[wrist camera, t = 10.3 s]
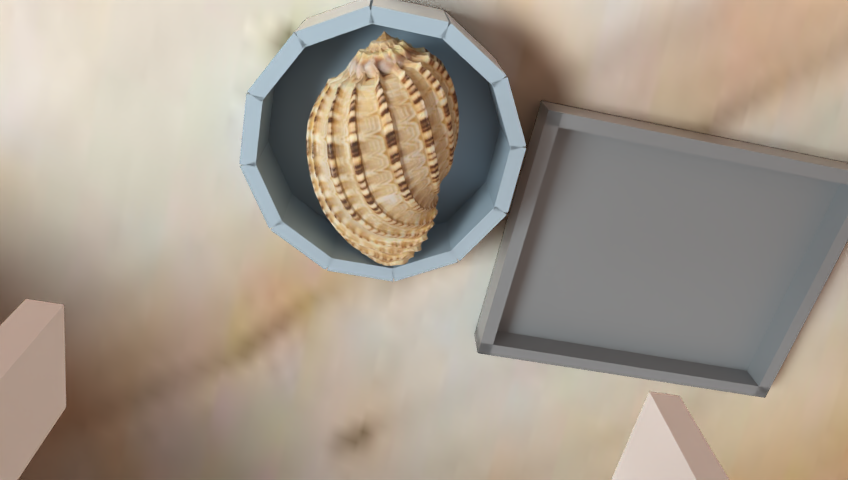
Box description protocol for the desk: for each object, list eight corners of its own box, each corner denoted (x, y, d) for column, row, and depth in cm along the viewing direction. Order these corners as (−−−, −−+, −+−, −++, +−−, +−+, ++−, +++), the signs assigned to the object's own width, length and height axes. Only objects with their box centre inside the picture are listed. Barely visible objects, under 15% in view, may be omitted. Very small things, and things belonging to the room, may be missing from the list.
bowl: (247, 220, 36) (230, 254, 32) (274, -27, 31) (257, -20, 27) (475, 259, 37) (483, 296, 34) (537, 30, 32) (555, 45, 28)
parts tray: (474, 334, 39) (477, 352, 38) (541, 100, 34) (548, 109, 32) (750, 378, 41) (764, 397, 40) (859, 165, 36) (881, 177, 34)
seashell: (488, 186, 35) (432, 0, 30) (501, 257, 30) (436, 52, 25) (349, 224, 37) (269, 52, 31) (339, 298, 32) (243, 111, 26)
